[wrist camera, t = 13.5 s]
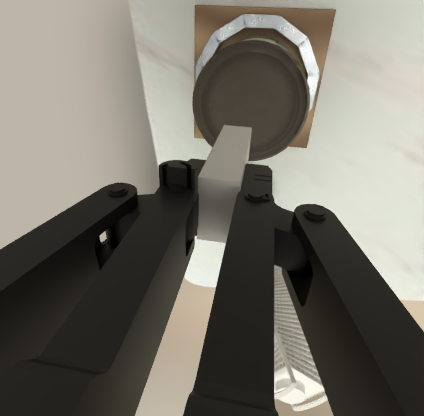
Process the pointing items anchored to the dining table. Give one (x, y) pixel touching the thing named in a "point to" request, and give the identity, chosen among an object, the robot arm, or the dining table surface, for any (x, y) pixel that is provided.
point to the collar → (265, 22)
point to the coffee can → (253, 95)
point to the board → (300, 18)
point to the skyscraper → (292, 353)
